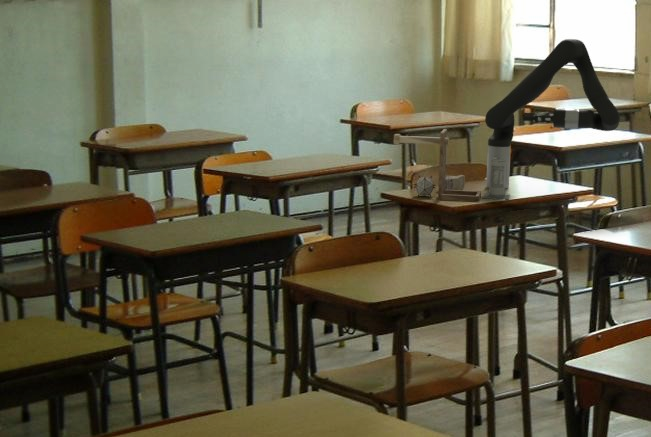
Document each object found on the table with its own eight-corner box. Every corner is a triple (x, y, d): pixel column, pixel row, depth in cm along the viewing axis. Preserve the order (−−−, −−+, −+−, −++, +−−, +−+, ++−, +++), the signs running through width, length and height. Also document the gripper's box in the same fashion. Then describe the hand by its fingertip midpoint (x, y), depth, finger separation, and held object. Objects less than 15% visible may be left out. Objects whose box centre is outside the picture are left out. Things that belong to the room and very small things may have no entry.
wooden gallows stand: (441, 194, 483) (443, 128, 479) (480, 196, 481) (483, 130, 476) (438, 199, 471) (440, 132, 466) (478, 201, 468) (481, 134, 463)
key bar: (395, 143, 479) (395, 133, 478) (448, 145, 475) (449, 136, 475) (393, 144, 475) (393, 135, 474) (447, 146, 471) (448, 137, 470)
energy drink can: (505, 195, 481) (507, 157, 478) (502, 197, 475) (504, 159, 472) (490, 194, 483) (492, 156, 480) (487, 196, 477) (489, 158, 474)
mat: (484, 194, 485) (484, 193, 485) (509, 195, 483) (509, 194, 483) (482, 198, 475) (482, 197, 475) (508, 199, 473) (508, 198, 473)
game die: (427, 205, 481) (441, 184, 482) (427, 200, 472) (441, 179, 473) (408, 192, 482) (422, 172, 483) (407, 188, 474) (422, 167, 475)
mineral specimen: (456, 188, 501) (456, 173, 500) (467, 190, 495) (467, 175, 494) (431, 190, 494) (431, 174, 493) (441, 192, 488) (442, 177, 487)
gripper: (566, 106, 475) (524, 105, 478) (566, 110, 461) (523, 108, 464) (565, 126, 476) (523, 124, 479) (565, 129, 462) (522, 128, 465)
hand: (523, 116), depth 471 cm, fingers open, 8 cm apart
